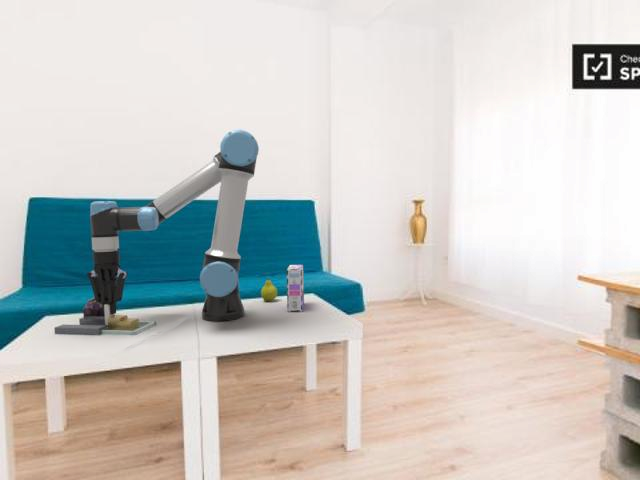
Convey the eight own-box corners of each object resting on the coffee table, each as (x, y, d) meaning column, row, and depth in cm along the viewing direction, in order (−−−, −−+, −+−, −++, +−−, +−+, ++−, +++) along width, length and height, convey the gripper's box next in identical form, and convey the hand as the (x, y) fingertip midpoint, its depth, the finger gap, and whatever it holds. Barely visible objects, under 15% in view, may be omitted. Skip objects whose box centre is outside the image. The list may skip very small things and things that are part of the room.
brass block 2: (139, 330, 133) (138, 318, 132) (131, 334, 129) (130, 321, 128) (127, 330, 133) (127, 318, 133) (119, 334, 129) (119, 321, 129)
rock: (79, 328, 143) (111, 325, 146) (76, 305, 141) (108, 302, 144) (89, 315, 155) (118, 312, 157) (86, 293, 153) (116, 291, 155)
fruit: (279, 299, 179) (278, 271, 179) (275, 302, 173) (275, 274, 172) (263, 299, 180) (262, 272, 179) (259, 302, 173) (258, 274, 172)
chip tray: (156, 329, 136) (155, 321, 136) (135, 339, 125) (134, 331, 124) (125, 328, 138) (124, 320, 138) (101, 338, 126) (101, 330, 126)
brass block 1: (127, 327, 133) (127, 315, 133) (119, 330, 129) (119, 318, 129) (116, 326, 134) (115, 314, 134) (108, 330, 130) (107, 317, 130)
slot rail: (127, 327, 139) (127, 317, 139) (99, 340, 125) (98, 328, 125) (87, 326, 141) (86, 316, 141) (55, 338, 127) (54, 327, 127)
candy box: (302, 312, 156) (301, 268, 155) (287, 312, 156) (286, 268, 155) (304, 303, 169) (303, 264, 168) (290, 304, 170) (289, 264, 168)
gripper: (132, 249, 133) (135, 321, 135) (95, 249, 135) (99, 320, 137) (117, 251, 126) (121, 327, 127) (78, 251, 128) (83, 326, 129)
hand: (110, 323), depth 132 cm, fingers closed
